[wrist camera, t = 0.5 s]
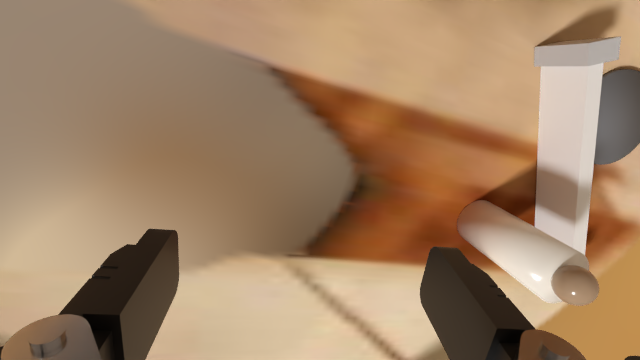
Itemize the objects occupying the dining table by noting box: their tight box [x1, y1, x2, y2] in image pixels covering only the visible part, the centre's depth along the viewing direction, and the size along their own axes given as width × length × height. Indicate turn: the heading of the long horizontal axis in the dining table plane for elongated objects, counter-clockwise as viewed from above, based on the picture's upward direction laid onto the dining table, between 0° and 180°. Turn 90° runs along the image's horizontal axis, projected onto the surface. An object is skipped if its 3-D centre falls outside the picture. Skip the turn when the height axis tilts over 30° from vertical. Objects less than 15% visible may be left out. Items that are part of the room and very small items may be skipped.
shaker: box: [457, 200, 599, 306], centre depth 32 cm, size 5×5×14 cm
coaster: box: [594, 69, 640, 164], centre depth 37 cm, size 10×10×1 cm
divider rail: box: [534, 37, 621, 255], centre depth 35 cm, size 26×3×6 cm, turn 10°
